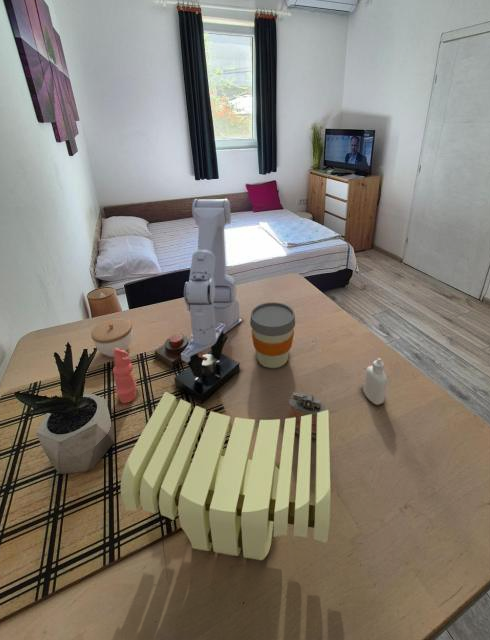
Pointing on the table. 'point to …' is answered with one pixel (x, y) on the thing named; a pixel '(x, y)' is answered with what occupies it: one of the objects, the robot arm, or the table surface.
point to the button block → (172, 352)
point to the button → (176, 340)
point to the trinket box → (112, 336)
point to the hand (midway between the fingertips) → (207, 366)
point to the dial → (208, 365)
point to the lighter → (305, 410)
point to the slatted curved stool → (228, 478)
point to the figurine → (123, 376)
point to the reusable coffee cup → (272, 333)
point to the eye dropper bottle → (375, 382)
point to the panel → (207, 379)
